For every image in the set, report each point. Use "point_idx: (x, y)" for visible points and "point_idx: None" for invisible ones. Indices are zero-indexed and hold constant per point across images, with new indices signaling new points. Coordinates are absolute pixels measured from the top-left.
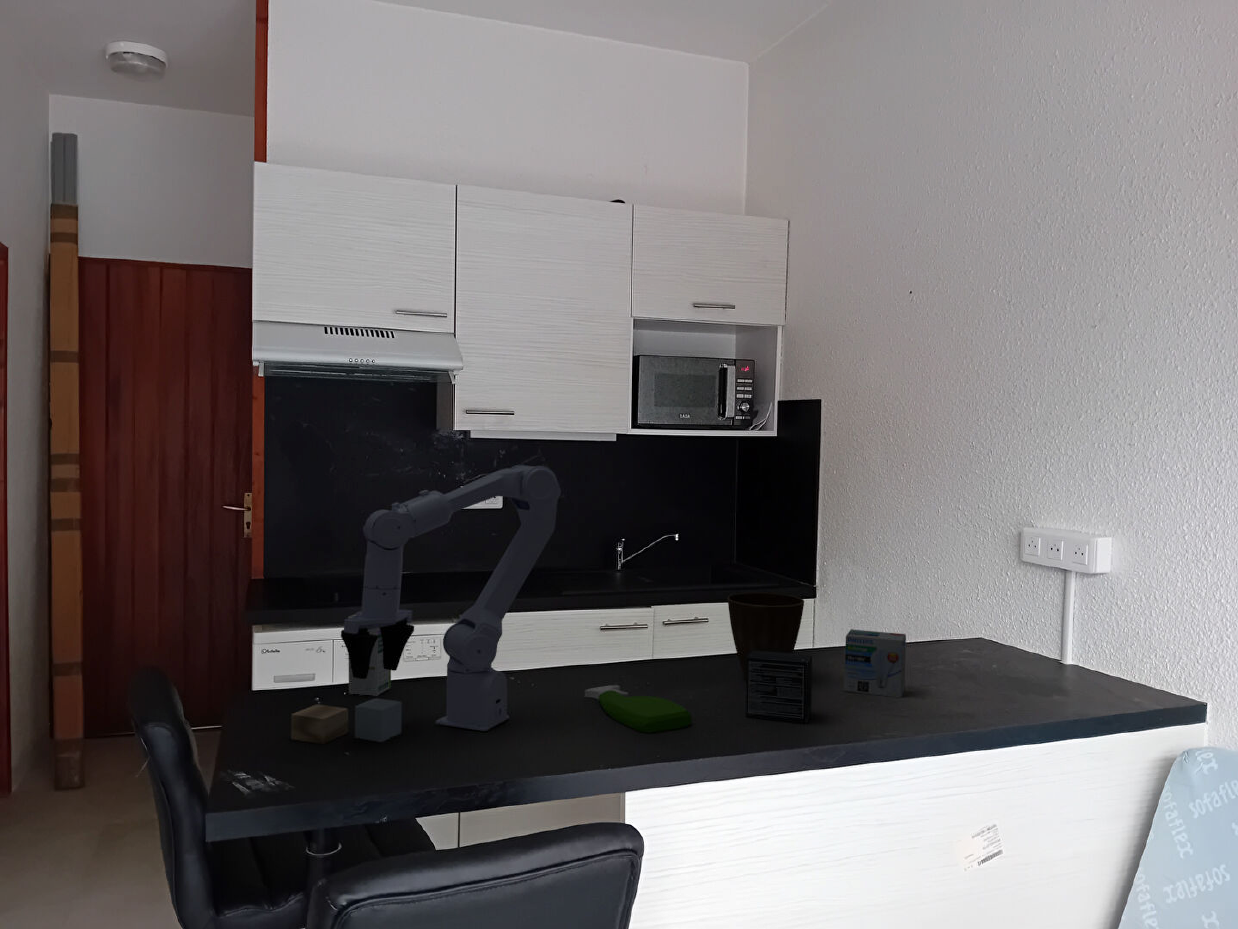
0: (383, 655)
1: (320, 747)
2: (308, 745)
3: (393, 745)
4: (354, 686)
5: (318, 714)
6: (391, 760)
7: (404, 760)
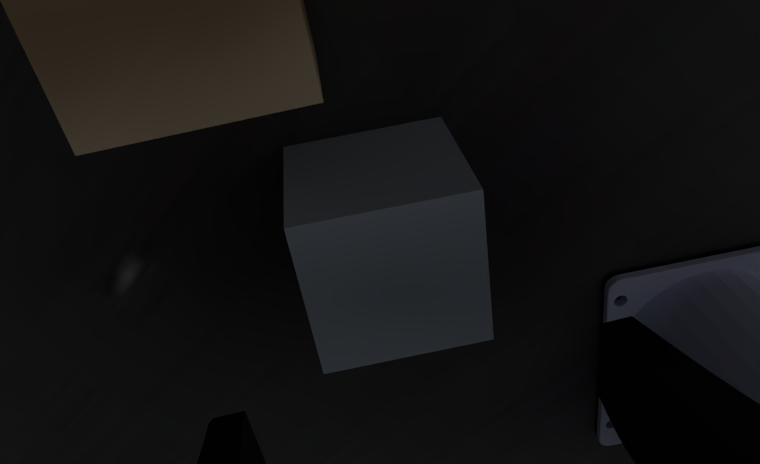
0: (671, 392)
1: None
2: None
3: None
4: None
5: (105, 50)
6: (199, 427)
7: None
